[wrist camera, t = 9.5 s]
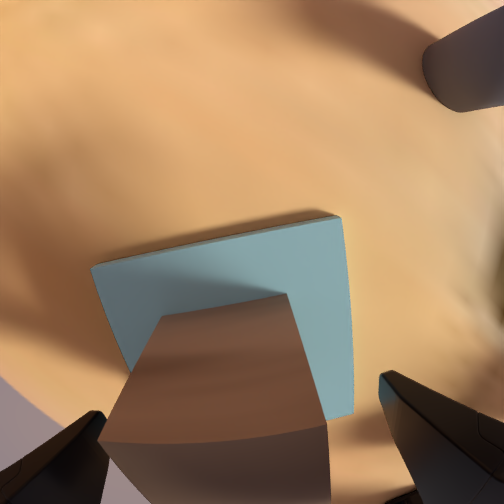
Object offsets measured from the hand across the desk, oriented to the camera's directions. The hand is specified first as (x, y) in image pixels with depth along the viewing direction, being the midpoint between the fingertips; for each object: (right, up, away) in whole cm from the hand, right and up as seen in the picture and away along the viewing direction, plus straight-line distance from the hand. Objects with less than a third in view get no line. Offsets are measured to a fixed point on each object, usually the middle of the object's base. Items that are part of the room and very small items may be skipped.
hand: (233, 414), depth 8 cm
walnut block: (0, +1, +3) cm, 3 cm away
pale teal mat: (0, +1, +3) cm, 4 cm away
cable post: (+9, +12, +1) cm, 15 cm away
